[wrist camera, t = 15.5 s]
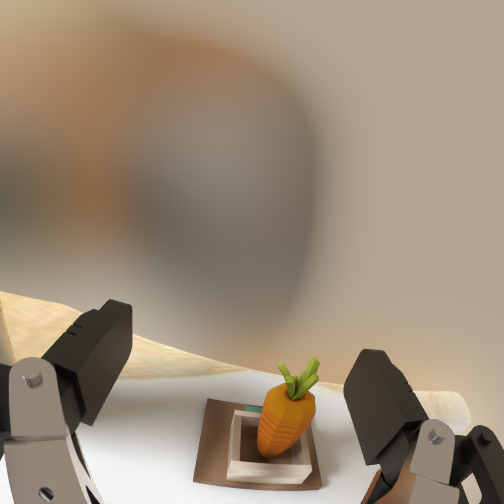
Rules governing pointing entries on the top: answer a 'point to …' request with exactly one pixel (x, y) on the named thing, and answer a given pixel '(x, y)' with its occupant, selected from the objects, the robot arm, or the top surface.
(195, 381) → the top surface
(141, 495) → the top surface
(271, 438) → the carrot
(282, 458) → the socket board
